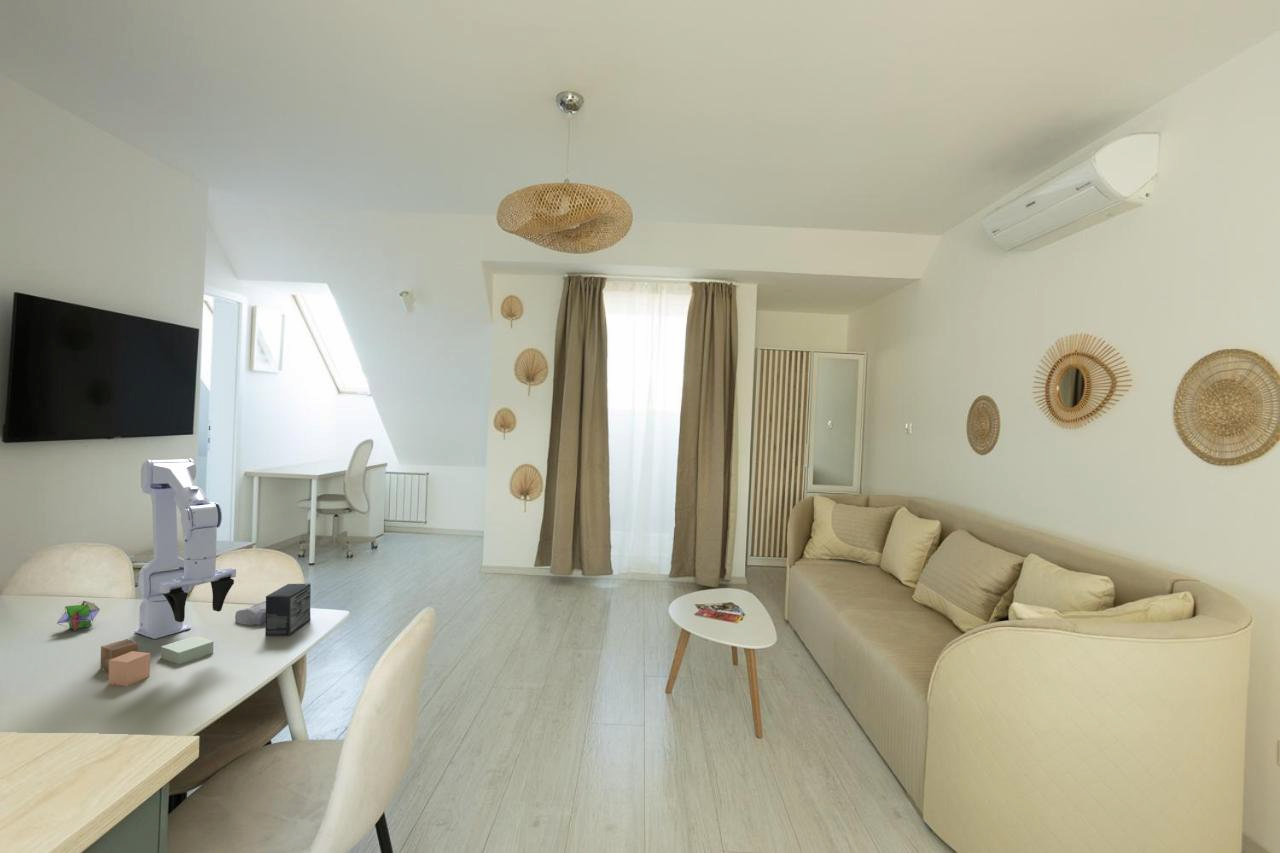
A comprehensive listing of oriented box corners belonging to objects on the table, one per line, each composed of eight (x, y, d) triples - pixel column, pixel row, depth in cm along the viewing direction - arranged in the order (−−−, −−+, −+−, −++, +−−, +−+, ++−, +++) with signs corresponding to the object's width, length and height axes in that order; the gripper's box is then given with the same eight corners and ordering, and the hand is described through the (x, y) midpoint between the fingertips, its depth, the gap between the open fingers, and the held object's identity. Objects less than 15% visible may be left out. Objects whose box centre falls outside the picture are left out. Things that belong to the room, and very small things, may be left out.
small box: (286, 620, 150) (287, 582, 150) (311, 621, 151) (312, 583, 150) (263, 636, 140) (264, 595, 139) (290, 636, 140) (291, 595, 140)
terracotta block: (108, 684, 113) (109, 660, 113) (131, 674, 118) (132, 651, 118) (126, 686, 113) (127, 662, 113) (149, 676, 117) (150, 653, 117)
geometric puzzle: (86, 625, 137) (96, 594, 141) (49, 629, 134) (60, 597, 138) (97, 634, 142) (106, 604, 146) (61, 638, 139) (71, 606, 143)
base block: (160, 659, 126) (161, 646, 126) (195, 648, 132) (195, 635, 132) (178, 666, 123) (178, 652, 123) (213, 654, 129) (213, 641, 129)
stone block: (230, 629, 147) (261, 626, 146) (228, 611, 148) (259, 608, 146) (268, 616, 159) (297, 612, 157) (267, 599, 159) (296, 595, 157)
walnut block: (100, 669, 120) (100, 646, 120) (126, 660, 124) (126, 638, 124) (111, 673, 118) (111, 650, 118) (137, 665, 122) (137, 642, 122)
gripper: (173, 566, 118) (171, 629, 118) (244, 552, 131) (243, 608, 131) (154, 562, 121) (153, 623, 121) (226, 548, 134) (224, 603, 134)
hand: (198, 615), depth 126 cm, fingers open, 7 cm apart
